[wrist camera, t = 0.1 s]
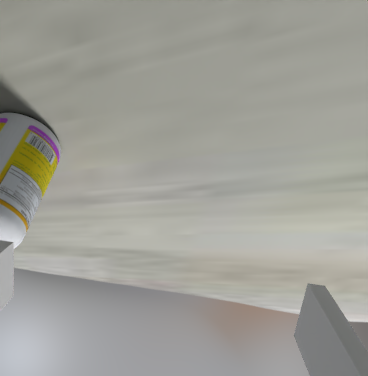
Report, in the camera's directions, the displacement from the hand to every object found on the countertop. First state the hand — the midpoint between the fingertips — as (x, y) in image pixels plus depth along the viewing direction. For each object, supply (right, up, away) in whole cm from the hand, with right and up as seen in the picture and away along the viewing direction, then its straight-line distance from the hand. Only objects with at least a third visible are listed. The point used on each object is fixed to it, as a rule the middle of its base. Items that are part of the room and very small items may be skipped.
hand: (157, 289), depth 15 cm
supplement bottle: (-13, +9, +16) cm, 23 cm away
